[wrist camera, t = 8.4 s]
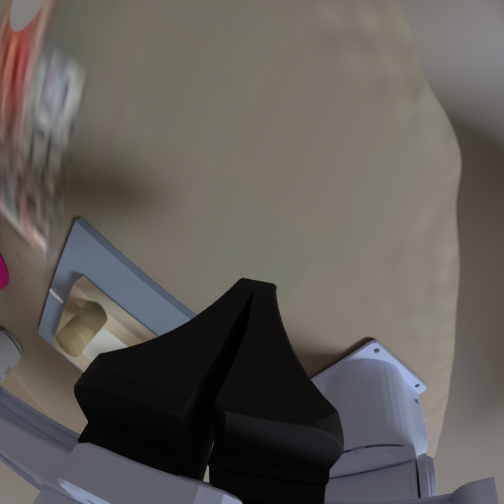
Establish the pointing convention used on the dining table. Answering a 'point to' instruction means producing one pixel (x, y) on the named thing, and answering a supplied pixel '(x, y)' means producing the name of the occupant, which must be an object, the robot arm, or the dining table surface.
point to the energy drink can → (8, 353)
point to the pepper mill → (3, 274)
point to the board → (108, 285)
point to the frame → (95, 325)
